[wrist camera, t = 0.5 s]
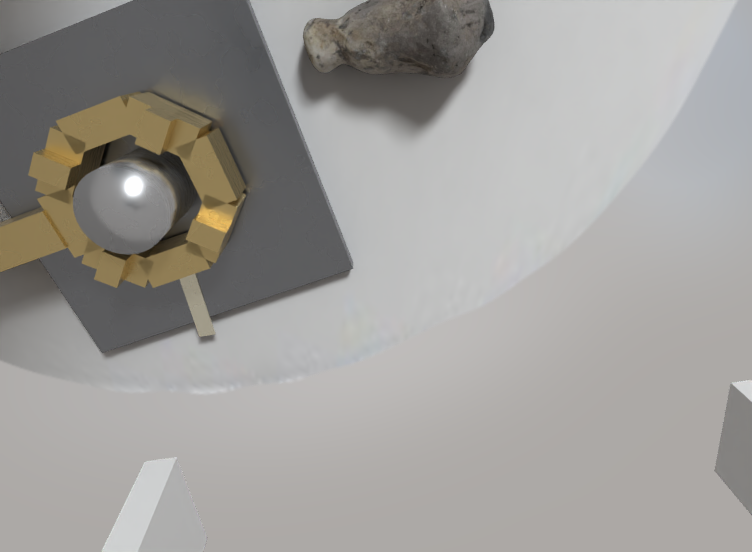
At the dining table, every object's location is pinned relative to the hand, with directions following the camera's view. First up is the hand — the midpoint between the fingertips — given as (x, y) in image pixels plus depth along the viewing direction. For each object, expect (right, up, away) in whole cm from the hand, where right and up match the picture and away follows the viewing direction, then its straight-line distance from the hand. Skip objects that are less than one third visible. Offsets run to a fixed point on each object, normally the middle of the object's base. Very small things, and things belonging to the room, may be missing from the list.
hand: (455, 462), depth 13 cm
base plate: (-16, +11, +23) cm, 30 cm away
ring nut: (-21, +9, +22) cm, 31 cm away
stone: (-1, +19, +20) cm, 28 cm away
